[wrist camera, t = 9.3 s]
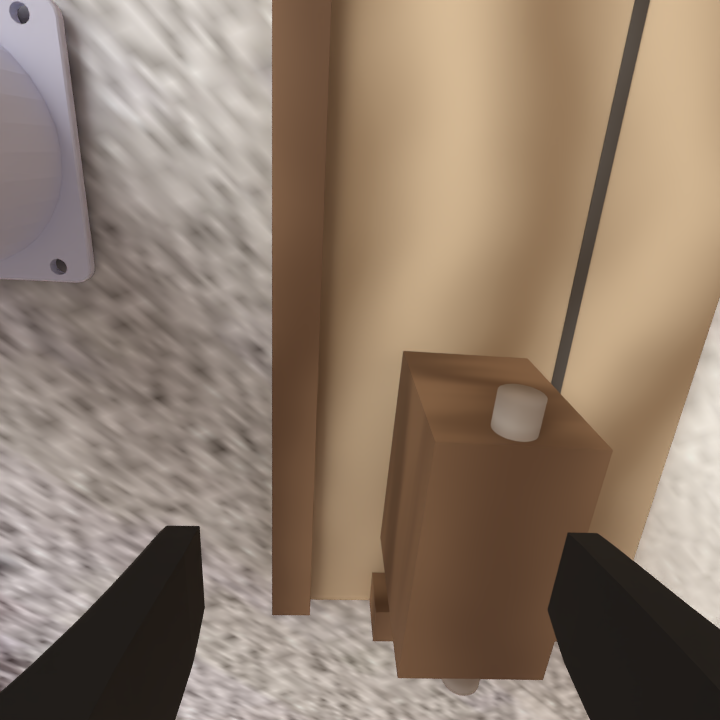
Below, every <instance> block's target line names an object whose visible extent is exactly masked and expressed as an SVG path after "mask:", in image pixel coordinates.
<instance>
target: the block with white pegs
mask: <svg viewBox="0 0 720 720" xmlns="http://www.w3.org/2000/svg"><path fill="white" fill-rule="evenodd" d="M612 452H613V450H612V448H611V447H610V446H609V445H608V444H607V443H606V442H605V441H604V440H603V439H602V438H601V437H600V436H599V435H598V433H597V432H596V431H595V430H594V429H593V428H592V427H591V426H590V425H589V424H588V423H587V422H586V421H585V420H584V418H583V417H582V416H581V415H580V414H579V413H578V412H577V411H576V410H575V409H574V408H573V407H572V406H571V404H570V403H569V402H568V401H567V400H566V399H565V398H564V397H563V396H562V395H561V394H560V393H559V392H558V391H557V389H556V388H555V387H554V386H553V385H552V384H551V383H550V382H549V381H548V380H547V379H546V378H545V377H544V376H543V374H542V373H541V372H540V371H539V370H538V369H537V368H536V367H535V366H534V365H533V364H532V363H531V362H530V360H529V359H528V358H513V357H496V356H480V355H464V354H447V353H431V352H415V351H403V356H402V364H401V372H400V380H399V389H398V397H397V405H396V413H395V421H394V429H393V437H392V446H391V454H390V462H389V470H388V478H387V486H386V494H385V503H384V511H383V519H382V527H381V535H380V539H381V547H382V555H383V563H384V571H385V579H386V587H387V596H388V604H389V612H390V620H391V628H392V636H393V644H394V652H395V660H396V668H397V676H398V678H433V679H442V681H443V683H444V684H445V686H446V687H447V688H448V689H449V690H450V691H452V692H453V693H455V694H458V695H463V696H465V695H470V694H472V693H474V692H475V691H476V690H477V688H478V685H479V681H480V679H516V680H543V678H544V675H545V671H546V668H547V665H548V661H549V658H550V655H551V652H552V648H553V645H554V642H555V639H556V636H555V633H554V630H553V627H552V623H551V620H550V617H549V614H548V610H547V609H548V605H549V601H550V598H551V594H552V590H553V586H554V582H555V579H556V575H557V571H558V567H559V563H560V559H561V556H562V552H563V548H564V544H565V540H566V537H567V533H568V532H571V533H588V531H589V527H590V524H591V521H592V518H593V514H594V511H595V508H596V505H597V501H598V498H599V495H600V492H601V488H602V485H603V482H604V478H605V475H606V472H607V469H608V465H609V462H610V459H611V456H612Z"/></svg>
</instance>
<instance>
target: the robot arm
mask: <svg viewBox="0 0 720 720" xmlns="http://www.w3.org/2000/svg"><path fill="white" fill-rule="evenodd" d="M23 5H25V6H26V7H27V8H28V11H29V13H30V15H29V20H28V21H27V23H25V24H22V23H21V22H20V21H19V19H18V16H17V12H18V9H19V8H20V6H23ZM57 259H60V260H62V261H63V262H64V263H65V264H66V266H67V272H66V273H65V272H62V271H60V270H59V269H58V268H57V266H56V260H57ZM94 272H95V263H94V255H93V247H92V240H91V232H90V224H89V216H88V208H87V200H86V192H85V185H84V177H83V169H82V161H81V153H80V145H79V138H78V130H77V122H76V114H75V106H74V98H73V90H72V83H71V75H70V67H69V59H68V51H67V43H66V36H65V28H64V20H63V16H62V13H61V10H60V9H59V7H58V6H57V4H56V3H55V2H53V1H52V0H0V279H12V280H33V281H54V282H75V283H78V282H84V281H86V280H87V279H89V278H90V277H92V275H93V274H94ZM204 609H205V604H204V589H203V573H202V558H201V542H200V527H199V526H166V527H165V528H163V529H162V530H161V531H160V532H159V533H158V535H157V536H156V537H155V538H154V539H153V540H152V541H151V543H150V544H149V545H148V546H147V547H146V548H145V549H144V550H143V552H142V553H141V554H140V555H139V556H138V557H137V558H136V559H135V561H134V562H133V563H132V564H131V565H130V566H129V567H128V568H127V569H126V570H125V571H124V573H123V574H122V575H121V576H120V577H119V578H118V579H117V580H116V581H115V582H114V583H113V584H112V586H111V587H110V588H109V589H108V590H107V591H106V592H105V593H104V594H103V595H102V596H101V597H100V598H99V599H98V600H97V601H96V602H95V603H94V604H93V605H92V606H91V607H90V608H89V609H88V610H87V612H86V613H85V614H84V615H83V616H82V617H81V618H80V619H79V620H78V621H77V622H76V623H75V624H74V625H73V626H72V627H70V628H69V629H68V630H67V631H66V632H65V633H64V634H63V635H62V636H61V637H60V638H59V639H58V640H57V641H56V642H55V643H54V644H53V645H52V646H51V647H50V648H48V649H47V650H46V651H45V652H44V653H43V654H42V655H41V656H40V657H39V658H38V659H37V660H36V661H35V662H34V663H33V664H32V665H31V666H29V667H28V668H27V669H26V670H25V671H24V672H23V673H22V674H21V675H19V676H18V677H17V678H16V679H15V680H14V681H13V682H12V683H10V684H9V685H8V686H7V687H6V688H5V689H4V690H2V691H1V692H0V720H175V719H176V716H177V712H178V709H179V706H180V703H181V700H182V697H183V694H184V691H185V687H186V684H187V681H188V678H189V675H190V672H191V668H192V665H193V661H194V657H195V652H196V647H197V643H198V638H199V633H200V628H201V623H202V619H203V614H204ZM547 610H548V614H549V617H550V620H551V623H552V627H553V630H554V633H555V636H556V639H557V642H558V645H559V648H560V651H561V654H562V657H563V660H564V663H565V665H566V668H567V670H568V672H569V674H570V677H571V679H572V681H573V683H574V686H575V688H576V690H577V692H578V694H579V697H580V699H581V701H582V703H583V705H584V708H585V710H586V712H587V714H588V716H589V718H590V720H720V629H719V628H718V627H716V626H715V625H714V624H712V623H711V622H710V621H708V620H707V619H706V618H705V617H703V616H702V615H701V614H699V613H698V612H697V611H696V610H694V609H693V608H692V607H690V606H689V605H688V604H687V603H685V602H684V601H683V600H682V599H680V598H679V597H678V596H677V595H675V594H674V593H673V592H671V591H670V590H669V589H668V588H666V587H665V586H664V585H663V584H662V583H660V582H659V581H658V580H657V579H655V578H654V577H653V576H652V575H650V574H649V573H648V572H647V571H645V570H644V569H643V568H642V567H640V566H639V565H638V564H637V563H635V562H634V561H633V560H632V559H630V558H629V557H628V556H627V555H625V554H624V553H623V552H622V551H620V550H619V549H618V548H617V547H615V546H614V545H613V544H611V543H610V542H609V541H608V540H606V539H605V538H603V537H602V536H601V535H599V534H598V533H571V532H568V533H567V537H566V540H565V544H564V548H563V552H562V556H561V559H560V563H559V567H558V571H557V575H556V579H555V582H554V586H553V590H552V594H551V598H550V601H549V605H548V609H547Z"/></svg>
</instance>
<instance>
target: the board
mask: <svg viewBox="0 0 720 720" xmlns="http://www.w3.org/2000/svg"><path fill="white" fill-rule="evenodd" d="M719 298H720V0H272V615H310V599H316V600H370V611H371V623H372V635H373V641H393V636H392V628H391V620H390V612H389V604H388V596H387V587H386V579H385V571H384V563H383V555H382V547H381V539H380V535H381V527H382V519H383V511H384V503H385V494H386V486H387V478H388V470H389V462H390V454H391V446H392V437H393V429H394V421H395V413H396V405H397V397H398V389H399V380H400V372H401V364H402V356H403V351H415V352H431V353H447V354H464V355H480V356H496V357H513V358H528V359H529V360H530V362H531V363H532V364H533V365H534V366H535V367H536V368H537V369H538V370H539V371H540V372H541V373H542V374H543V376H544V377H545V378H546V379H547V380H548V381H549V382H550V383H551V384H552V385H553V386H554V387H555V388H556V389H557V391H558V392H559V393H560V394H561V395H562V396H563V397H564V398H565V399H566V400H567V401H568V402H569V403H570V404H571V406H572V407H573V408H574V409H575V410H576V411H577V412H578V413H579V414H580V415H581V416H582V417H583V418H584V420H585V421H586V422H587V423H588V424H589V425H590V426H591V427H592V428H593V429H594V430H595V431H596V432H597V433H598V435H599V436H600V437H601V438H602V439H603V440H604V441H605V442H606V443H607V444H608V445H609V446H610V447H611V448H612V450H613V452H612V456H611V459H610V462H609V465H608V469H607V472H606V475H605V478H604V482H603V485H602V488H601V492H600V495H599V498H598V501H597V505H596V508H595V511H594V514H593V518H592V521H591V524H590V527H589V531H588V533H598V534H599V535H601V536H602V537H603V538H605V539H606V540H608V541H609V542H610V543H611V544H613V545H614V546H615V547H617V548H618V549H619V550H620V551H622V552H623V553H624V554H625V555H627V556H628V557H629V558H630V559H632V560H633V559H634V556H635V553H636V550H637V547H638V544H639V541H640V538H641V535H642V532H643V529H644V526H645V523H646V520H647V517H648V514H649V511H650V508H651V505H652V502H653V499H654V495H655V492H656V489H657V486H658V483H659V480H660V477H661V474H662V471H663V468H664V465H665V462H666V459H667V456H668V453H669V450H670V447H671V444H672V441H673V438H674V435H675V432H676V428H677V425H678V422H679V419H680V416H681V413H682V410H683V407H684V404H685V401H686V398H687V395H688V392H689V389H690V386H691V383H692V380H693V377H694V374H695V371H696V368H697V365H698V361H699V358H700V355H701V352H702V349H703V346H704V343H705V340H706V337H707V334H708V331H709V328H710V325H711V322H712V319H713V316H714V313H715V310H716V307H717V304H718V301H719ZM555 642H557V639H555Z"/></svg>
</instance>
